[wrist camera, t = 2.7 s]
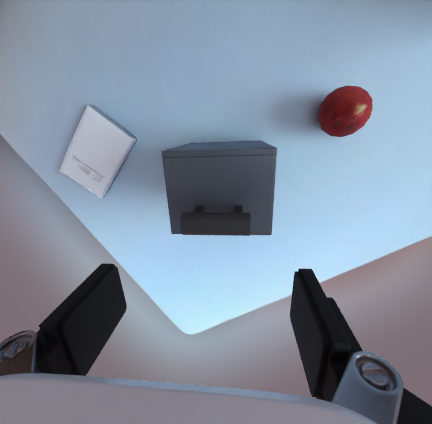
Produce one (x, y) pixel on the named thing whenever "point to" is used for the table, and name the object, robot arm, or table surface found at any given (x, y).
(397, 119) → the table surface
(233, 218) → the grey drawer with handle
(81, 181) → the hard drive
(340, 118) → the onion
